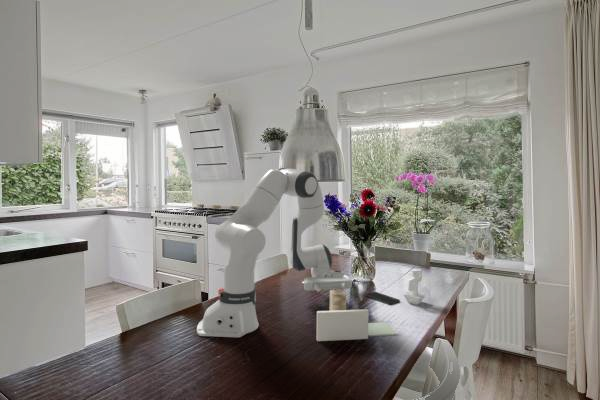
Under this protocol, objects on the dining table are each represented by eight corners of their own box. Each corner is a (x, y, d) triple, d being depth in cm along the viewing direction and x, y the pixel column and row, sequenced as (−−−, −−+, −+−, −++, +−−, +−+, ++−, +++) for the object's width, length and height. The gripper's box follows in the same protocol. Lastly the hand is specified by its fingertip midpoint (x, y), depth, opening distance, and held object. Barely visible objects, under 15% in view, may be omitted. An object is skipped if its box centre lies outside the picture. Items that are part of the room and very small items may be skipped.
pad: (369, 336, 127) (369, 335, 127) (361, 324, 137) (361, 323, 137) (396, 335, 128) (396, 333, 128) (386, 323, 138) (386, 322, 138)
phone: (375, 291, 174) (400, 300, 162) (374, 293, 174) (400, 302, 163) (364, 294, 169) (389, 303, 158) (363, 297, 169) (389, 306, 158)
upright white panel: (317, 341, 123) (317, 312, 122) (316, 339, 125) (316, 311, 124) (368, 338, 125) (368, 310, 125) (366, 336, 127) (367, 309, 126)
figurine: (402, 303, 161) (402, 270, 160) (411, 298, 168) (412, 266, 166) (417, 307, 156) (418, 273, 155) (426, 301, 162) (427, 269, 161)
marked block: (332, 332, 130) (332, 295, 129) (329, 326, 135) (329, 290, 134) (345, 332, 130) (346, 294, 129) (342, 326, 136) (342, 289, 135)
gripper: (301, 273, 157) (305, 282, 144) (346, 271, 160) (355, 280, 146) (301, 287, 158) (305, 298, 144) (346, 285, 160) (355, 295, 147)
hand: (331, 289), depth 145 cm, fingers open, 8 cm apart
